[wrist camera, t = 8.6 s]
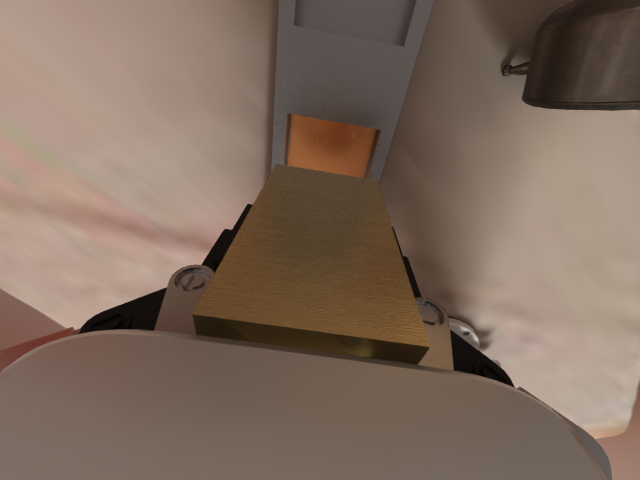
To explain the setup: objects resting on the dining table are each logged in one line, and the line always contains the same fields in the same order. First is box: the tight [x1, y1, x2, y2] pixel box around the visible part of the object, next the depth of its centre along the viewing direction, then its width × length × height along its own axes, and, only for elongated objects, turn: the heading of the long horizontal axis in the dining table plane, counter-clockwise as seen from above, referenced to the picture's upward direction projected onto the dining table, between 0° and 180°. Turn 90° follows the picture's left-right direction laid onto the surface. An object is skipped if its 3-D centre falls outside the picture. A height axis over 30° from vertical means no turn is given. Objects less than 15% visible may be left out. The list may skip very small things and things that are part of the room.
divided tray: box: [271, 0, 434, 185], centre depth 19 cm, size 9×24×2 cm, turn 171°
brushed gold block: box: [192, 164, 430, 365], centre depth 10 cm, size 5×5×9 cm
